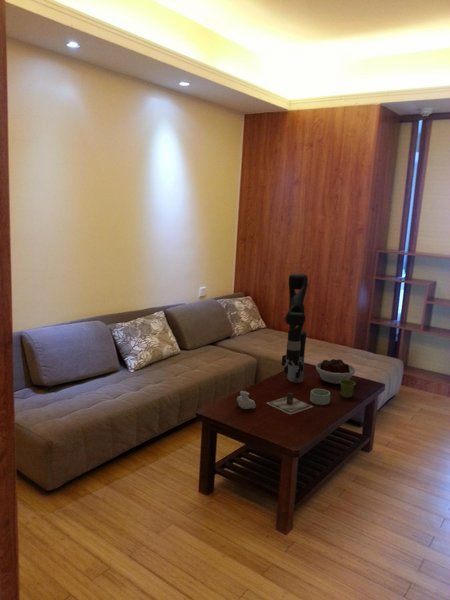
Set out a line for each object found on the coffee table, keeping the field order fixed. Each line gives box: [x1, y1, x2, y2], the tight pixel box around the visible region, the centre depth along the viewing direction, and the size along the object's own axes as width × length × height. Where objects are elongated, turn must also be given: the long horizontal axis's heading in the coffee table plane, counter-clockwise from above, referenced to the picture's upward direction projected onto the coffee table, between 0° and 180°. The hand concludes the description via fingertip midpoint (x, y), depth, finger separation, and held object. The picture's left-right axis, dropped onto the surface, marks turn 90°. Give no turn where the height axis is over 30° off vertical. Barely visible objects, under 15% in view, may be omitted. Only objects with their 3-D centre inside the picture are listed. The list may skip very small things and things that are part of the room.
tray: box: [266, 396, 314, 415], centre depth 275 cm, size 19×19×1 cm
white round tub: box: [315, 358, 356, 385], centre depth 317 cm, size 25×25×15 cm
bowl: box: [309, 388, 331, 406], centre depth 282 cm, size 11×11×6 cm
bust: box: [236, 390, 256, 410], centre depth 269 cm, size 12×8×11 cm
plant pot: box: [339, 379, 356, 399], centre depth 292 cm, size 9×9×9 cm
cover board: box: [269, 392, 311, 413], centre depth 274 cm, size 16×16×7 cm
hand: (291, 375), depth 272 cm, fingers open, 8 cm apart
